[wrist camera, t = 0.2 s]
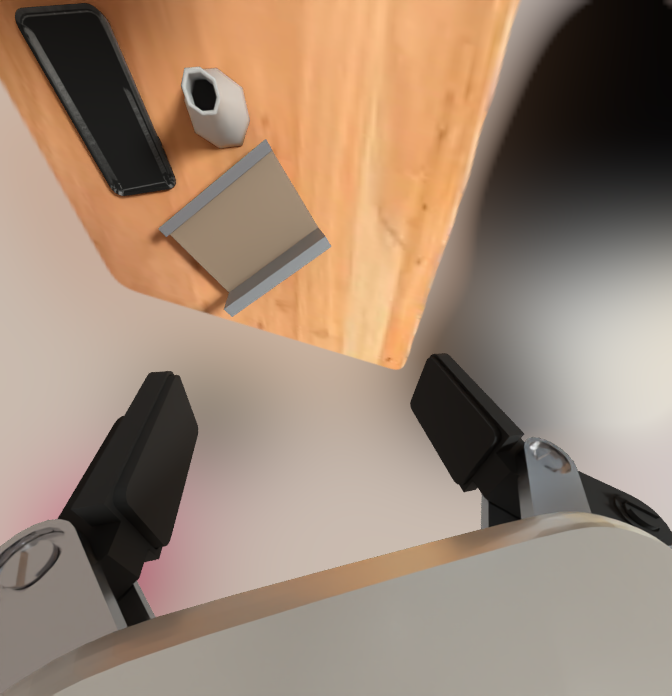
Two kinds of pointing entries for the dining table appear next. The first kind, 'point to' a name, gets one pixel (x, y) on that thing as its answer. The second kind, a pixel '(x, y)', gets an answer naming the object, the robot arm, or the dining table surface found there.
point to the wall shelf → (249, 229)
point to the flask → (215, 106)
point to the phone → (98, 94)
